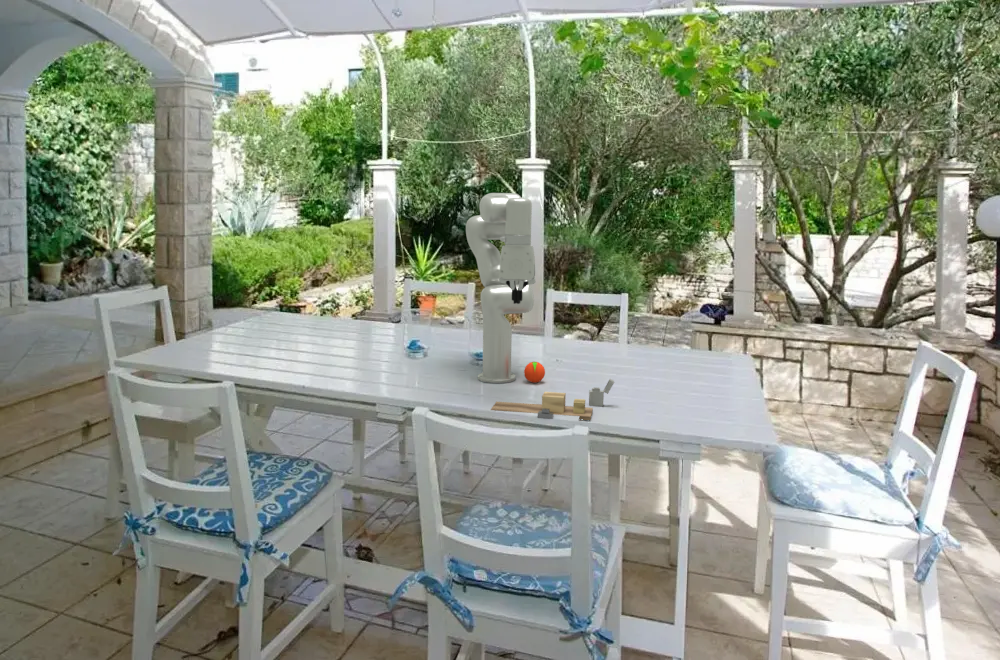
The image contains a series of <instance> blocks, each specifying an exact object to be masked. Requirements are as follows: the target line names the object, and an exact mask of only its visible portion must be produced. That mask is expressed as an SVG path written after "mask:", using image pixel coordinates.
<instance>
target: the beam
mask: <svg viewBox="0 0 1000 660" xmlns="http://www.w3.org/2000/svg"><path fill="white" fill-rule="evenodd" d="M593 409H594V408H593V407H587V406H586V399H585V398H574V400H573V405H572V406H571V405H570V406H568V405H565V410H564V413H554V415H556V416H573V417H579V418H578V420H579V419H583V420H591V421H592V417H593ZM490 411H494V412H495V411H497V412H513V413H526V414H538V412H539V411H542V403H541V404H539V403H526V402H525V403H523V402H509V401H495V403H494V404H493V406H491V408H490ZM554 415H553V416H554ZM591 416H592V417H591ZM583 420H582V421H583Z"/></svg>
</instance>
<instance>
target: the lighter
mask: <svg viewBox="0 0 1000 660" xmlns="http://www.w3.org/2000/svg"><path fill="white" fill-rule="evenodd" d="M614 383H615V380H614V379H613V378H612V379H611V378H609V380H608V381H607V383H606V386H604V389H603V390H601V387H592V388H591V389H589V392H588V406H589V407H604V397H605V396H604V394H609V393H610V391H611V389H612V387H613V385H614Z"/></svg>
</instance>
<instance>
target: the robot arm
mask: <svg viewBox="0 0 1000 660" xmlns="http://www.w3.org/2000/svg"><path fill="white" fill-rule="evenodd" d="M532 207H533V205H532V201H531V200H530V199H529V198H525V197H521V195H520V194H518V193H512V192H511V193H510V192H490V193H487V194H484V195H483V196H482V198H481V199H480V201H479V215H478V214H477V215H473V216H471V217H470V218H468V220H467V221H466V224H465V234H466V240H467V243H468V246H469V248H470V249H471V252H472V254H473V256H474V257H475V259H476V264H477V269H478V274H479V278H480V282H481V284H482V286H483V287H484V288H483V289H482V291H481V292H480V305H481V314H482V372H480V373H479V374H478V375H477V379H478V381H481V382H484V383H490V384H491V383H492V384H505V383H510V382H514V381H515V380H516V375H515V374H514V373H513V372H512V339H513V336H512V335H513V334H512V331H513V330H512V329H513V328H512V325H511V323H510V321H509V320H508V319H507V318H506V317H505V315H507V314H509V315H510V314H526V313H530V312H531V311H532V310H533V308H534V305H535V299H534V292H533V288H532V285H533V284H536V277H535V276H536V259H535V250H534V245H532V209H533V208H532ZM489 240H490V241H491V240H498V241H499V240H500V242H502V243H503V242H504V244H505V245H502V246H501V251H500V250H499V249H498V248H497V247H496V246H495V245H494V244H493V243H492V242H490V241H489Z"/></svg>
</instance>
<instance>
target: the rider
mask: <svg viewBox="0 0 1000 660" xmlns="http://www.w3.org/2000/svg"><path fill="white" fill-rule="evenodd" d="M566 396H567V394H566V392H557V391H555V392H554V391H544V392H543V393H542V396H541V404H542V408H546V409H550V412H554V413H564V410H565V406H566V400H567V399H566Z"/></svg>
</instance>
